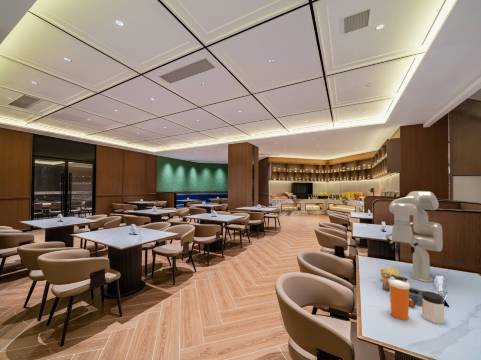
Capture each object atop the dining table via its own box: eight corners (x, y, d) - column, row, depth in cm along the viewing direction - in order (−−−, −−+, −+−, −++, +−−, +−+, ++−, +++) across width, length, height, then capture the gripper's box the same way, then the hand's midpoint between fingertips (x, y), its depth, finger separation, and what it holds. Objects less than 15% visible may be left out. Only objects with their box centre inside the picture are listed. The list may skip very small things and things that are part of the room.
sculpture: (394, 280, 151) (394, 265, 152) (406, 288, 139) (405, 271, 140) (378, 279, 152) (377, 264, 153) (388, 287, 141) (387, 270, 141)
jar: (448, 321, 104) (447, 297, 104) (440, 326, 100) (439, 300, 101) (426, 312, 112) (425, 289, 112) (418, 316, 108) (417, 292, 109)
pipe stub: (383, 287, 140) (382, 272, 140) (391, 289, 136) (391, 274, 137) (381, 289, 137) (380, 274, 137) (389, 292, 133) (389, 276, 134)
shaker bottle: (412, 323, 102) (411, 282, 103) (389, 317, 107) (388, 277, 108) (409, 314, 109) (408, 275, 110) (388, 309, 114) (387, 272, 115)
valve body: (403, 294, 132) (403, 285, 132) (426, 301, 124) (426, 291, 124) (397, 303, 121) (397, 294, 121) (422, 312, 112) (422, 301, 113)
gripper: (420, 224, 126) (421, 253, 125) (386, 221, 138) (386, 247, 137) (419, 226, 121) (419, 256, 120) (383, 222, 133) (384, 249, 132)
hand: (402, 251), depth 128 cm, fingers open, 9 cm apart
